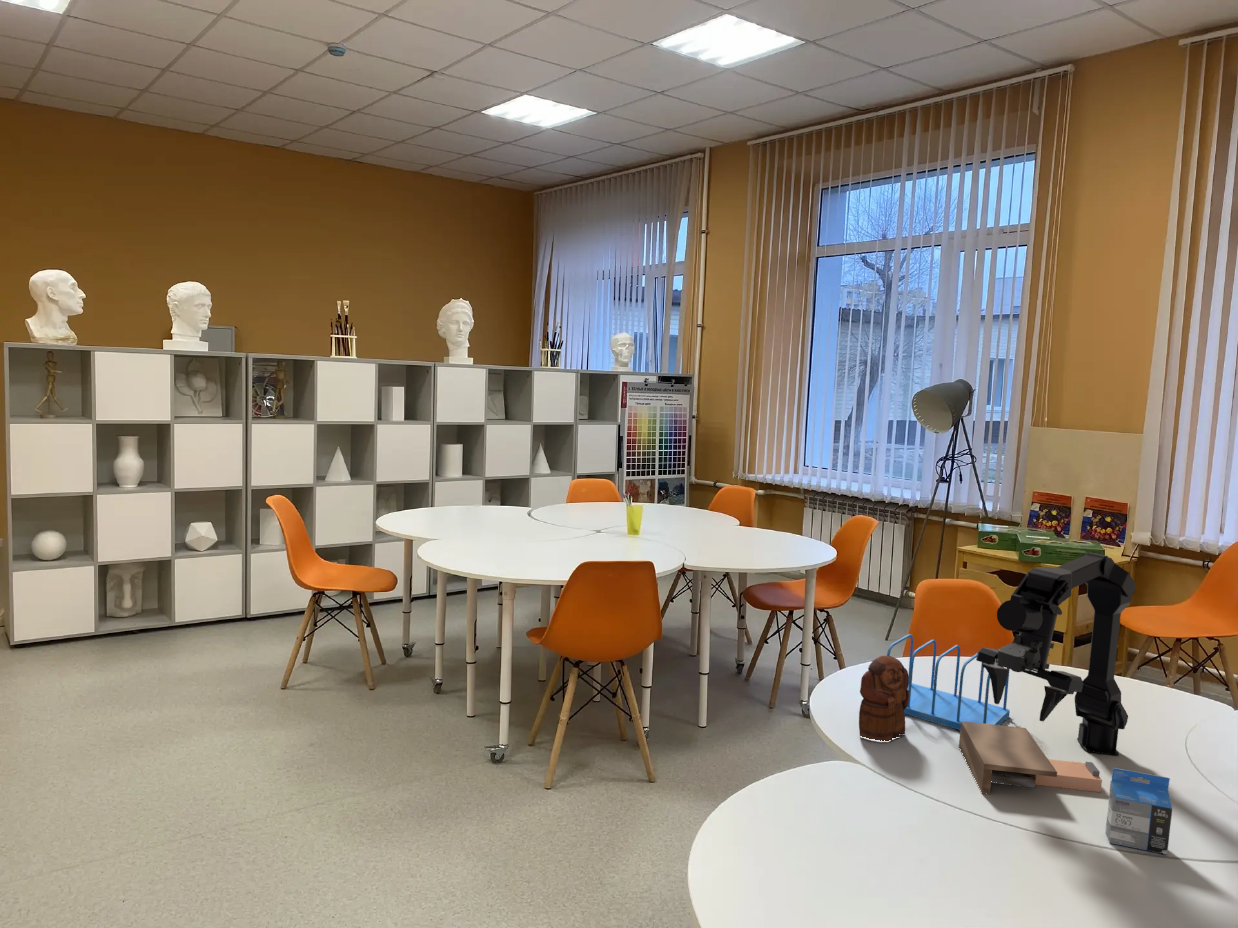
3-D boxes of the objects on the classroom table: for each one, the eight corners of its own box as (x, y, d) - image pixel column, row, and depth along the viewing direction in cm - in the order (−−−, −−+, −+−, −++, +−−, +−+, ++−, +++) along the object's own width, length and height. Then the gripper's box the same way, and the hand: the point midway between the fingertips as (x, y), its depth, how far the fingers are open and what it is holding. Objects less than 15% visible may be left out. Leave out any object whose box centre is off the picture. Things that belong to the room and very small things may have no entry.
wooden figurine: (877, 747, 180) (884, 666, 178) (853, 736, 186) (859, 657, 183) (911, 735, 187) (918, 656, 185) (887, 724, 192) (894, 648, 190)
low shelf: (1023, 754, 180) (1025, 727, 179) (1053, 801, 160) (1057, 771, 159) (958, 747, 182) (961, 720, 181) (981, 793, 162) (984, 763, 162)
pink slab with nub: (1087, 775, 171) (1089, 758, 171) (1100, 792, 165) (1102, 775, 164) (1024, 768, 173) (1026, 751, 173) (1035, 784, 167) (1036, 767, 166)
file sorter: (1009, 717, 200) (1015, 654, 198) (987, 740, 187) (993, 673, 185) (905, 688, 216) (910, 629, 214) (878, 707, 202) (883, 645, 201)
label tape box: (1108, 843, 146) (1116, 776, 145) (1104, 831, 150) (1112, 766, 149) (1167, 856, 143) (1176, 787, 142) (1162, 843, 147) (1170, 776, 145)
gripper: (969, 617, 167) (952, 694, 167) (1063, 645, 152) (1044, 730, 152) (999, 621, 174) (983, 695, 174) (1092, 649, 159) (1074, 730, 158)
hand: (1018, 712), depth 164 cm, fingers open, 9 cm apart
